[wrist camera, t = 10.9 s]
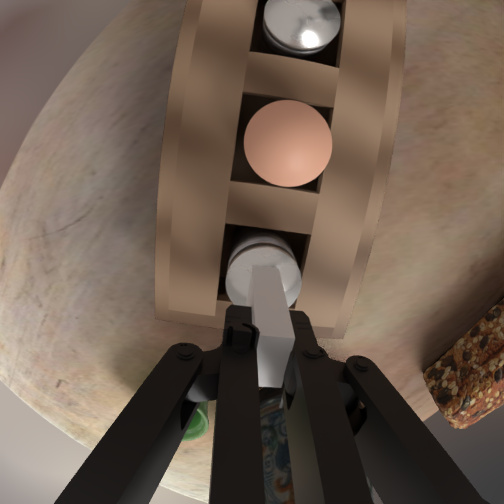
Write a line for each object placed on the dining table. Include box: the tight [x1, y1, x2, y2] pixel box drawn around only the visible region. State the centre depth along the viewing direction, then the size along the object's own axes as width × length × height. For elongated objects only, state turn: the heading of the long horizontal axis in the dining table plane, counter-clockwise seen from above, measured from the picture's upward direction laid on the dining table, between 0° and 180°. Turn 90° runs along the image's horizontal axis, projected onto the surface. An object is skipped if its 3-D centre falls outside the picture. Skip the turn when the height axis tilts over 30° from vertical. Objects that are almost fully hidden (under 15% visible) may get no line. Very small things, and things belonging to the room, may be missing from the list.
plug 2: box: [226, 225, 302, 308], centre depth 21 cm, size 4×4×6 cm
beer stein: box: [259, 380, 374, 504], centre depth 24 cm, size 16×19×25 cm
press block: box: [155, 0, 407, 339], centre depth 20 cm, size 26×14×7 cm, turn 172°
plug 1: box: [260, 0, 340, 62], centre depth 16 cm, size 4×4×6 cm
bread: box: [423, 298, 504, 429], centre depth 28 cm, size 19×11×10 cm, turn 134°
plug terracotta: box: [244, 100, 332, 187], centre depth 17 cm, size 4×4×6 cm
